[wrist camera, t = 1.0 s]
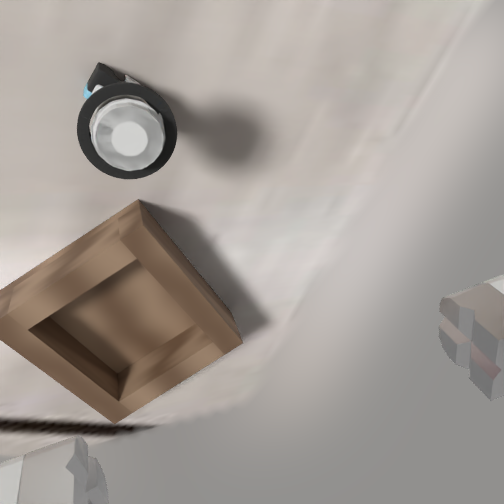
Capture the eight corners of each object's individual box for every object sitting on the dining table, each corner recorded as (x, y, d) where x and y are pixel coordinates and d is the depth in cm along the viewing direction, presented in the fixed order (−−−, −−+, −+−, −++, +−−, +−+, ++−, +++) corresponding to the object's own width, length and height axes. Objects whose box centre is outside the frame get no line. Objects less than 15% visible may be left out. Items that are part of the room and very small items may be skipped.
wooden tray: (138, 199, 38) (143, 225, 34) (231, 312, 46) (243, 342, 43) (-5, 293, 38) (-15, 328, 35) (113, 387, 47) (114, 424, 43)
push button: (188, 95, 35) (217, 136, 26) (151, 155, 36) (168, 211, 28) (104, 39, 31) (108, 66, 23) (67, 107, 33) (58, 156, 25)
